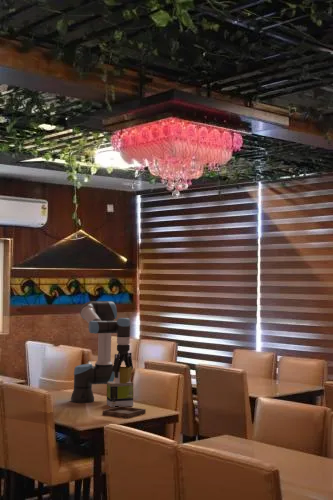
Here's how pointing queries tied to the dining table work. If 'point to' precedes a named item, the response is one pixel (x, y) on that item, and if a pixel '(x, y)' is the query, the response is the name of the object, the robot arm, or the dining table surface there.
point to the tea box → (119, 394)
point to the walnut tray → (124, 412)
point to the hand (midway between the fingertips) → (122, 382)
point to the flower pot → (124, 374)
